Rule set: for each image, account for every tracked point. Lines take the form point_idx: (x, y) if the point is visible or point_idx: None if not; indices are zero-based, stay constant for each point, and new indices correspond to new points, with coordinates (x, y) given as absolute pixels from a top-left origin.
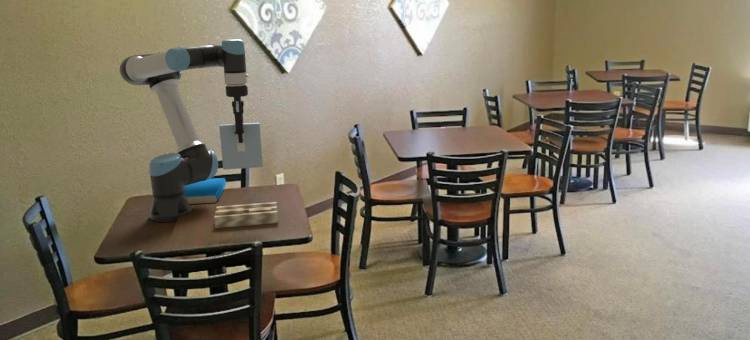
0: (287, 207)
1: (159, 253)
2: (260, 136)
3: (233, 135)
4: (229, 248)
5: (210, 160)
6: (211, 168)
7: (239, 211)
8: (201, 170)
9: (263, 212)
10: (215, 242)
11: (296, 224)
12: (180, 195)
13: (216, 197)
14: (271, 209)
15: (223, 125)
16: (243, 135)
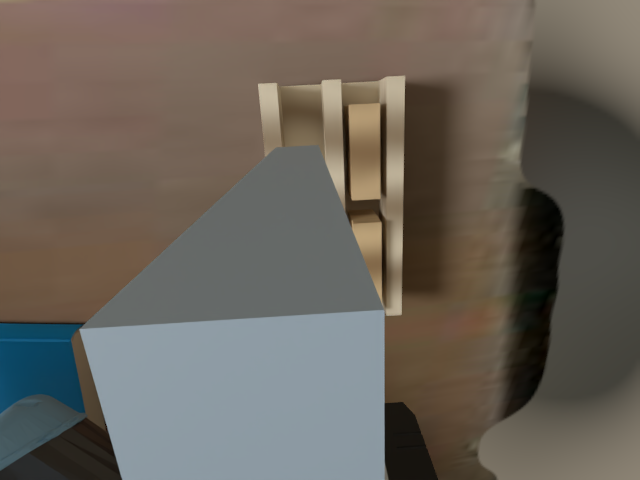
0: (162, 45)
1: (512, 401)
2: (333, 187)
3: None
4: (543, 235)
5: (17, 474)
6: (58, 434)
7: (380, 235)
8: (107, 470)
9: (394, 138)
10: (480, 280)
11: (384, 4)
12: None
13: (74, 334)
14: (379, 103)
15: None
16: (386, 469)
